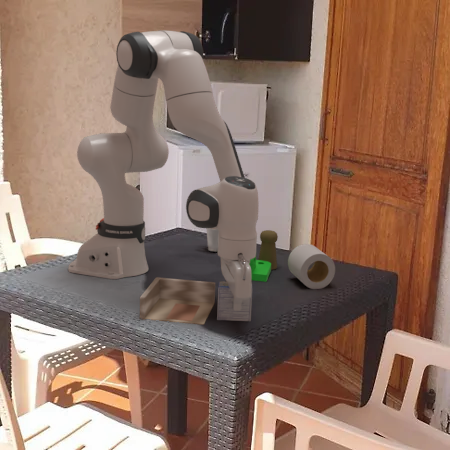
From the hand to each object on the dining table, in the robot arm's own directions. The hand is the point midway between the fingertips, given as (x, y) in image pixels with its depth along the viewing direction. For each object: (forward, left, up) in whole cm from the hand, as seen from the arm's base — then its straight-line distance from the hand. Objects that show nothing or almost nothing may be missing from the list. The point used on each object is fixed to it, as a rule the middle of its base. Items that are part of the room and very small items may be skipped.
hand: (234, 304), depth 156 cm
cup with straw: (-14, +58, -4) cm, 60 cm away
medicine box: (0, 0, -4) cm, 4 cm away
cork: (+4, +44, -4) cm, 44 cm away
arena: (-13, +1, -4) cm, 14 cm away
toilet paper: (+17, +32, -4) cm, 36 cm away
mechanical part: (+2, +36, -4) cm, 36 cm away
